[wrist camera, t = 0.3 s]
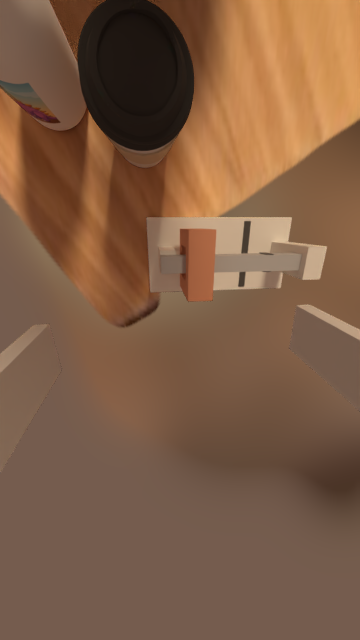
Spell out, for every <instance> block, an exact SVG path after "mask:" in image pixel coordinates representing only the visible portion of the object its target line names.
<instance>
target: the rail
mask: <svg viewBox="0 0 360 640" xmlns="http://www.w3.org/2000/svg"><path fill="white" fill-rule="evenodd" d="M146 220H147V239H148V259H149V278H150V292H179V291H182V289H181V287H180V273H186V254H181V255H180V229H216V247H215V266H214V285H213V290H236V289H267V288H280V287H281V281H282V275H283V273H285V274H288V275H290V276H293V277H296V278H299V279H302V280H310V279H320V276H321V271H322V267H323V263H324V258H325V254H326V249H327V247H326V246H318V245H310V244H302V243H293V242H288V239H289V233H290V227H291V221H292V218H291V217H262V218H261V217H146Z"/></svg>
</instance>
